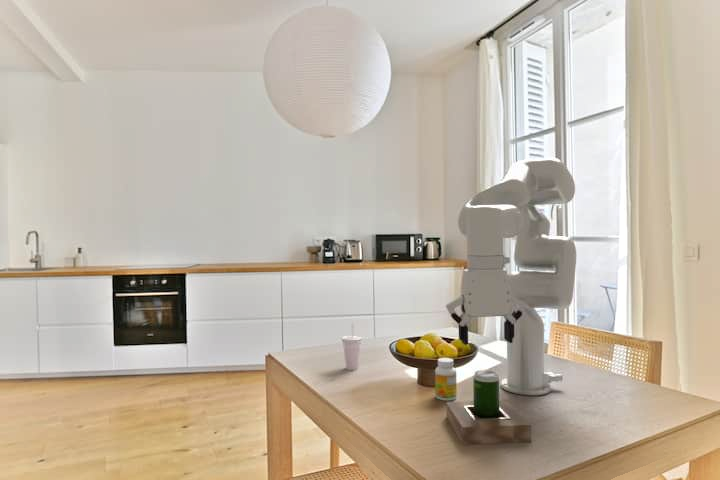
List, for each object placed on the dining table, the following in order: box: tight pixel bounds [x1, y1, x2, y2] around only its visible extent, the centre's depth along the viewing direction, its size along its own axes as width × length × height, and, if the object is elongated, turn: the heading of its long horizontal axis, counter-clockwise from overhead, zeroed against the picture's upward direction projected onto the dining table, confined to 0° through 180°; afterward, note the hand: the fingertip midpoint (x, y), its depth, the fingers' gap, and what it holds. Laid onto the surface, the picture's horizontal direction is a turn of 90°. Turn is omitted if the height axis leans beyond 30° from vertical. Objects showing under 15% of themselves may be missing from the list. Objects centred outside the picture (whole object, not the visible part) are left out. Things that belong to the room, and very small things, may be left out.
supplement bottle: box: [434, 357, 458, 402], centre depth 122 cm, size 5×5×10 cm
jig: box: [445, 399, 532, 446], centre depth 103 cm, size 14×14×4 cm
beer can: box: [472, 369, 500, 418], centre depth 103 cm, size 5×5×12 cm
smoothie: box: [341, 323, 363, 371], centre depth 149 cm, size 6×6×14 cm
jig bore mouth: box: [463, 406, 510, 421], centre depth 103 cm, size 8×8×1 cm
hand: (486, 342), depth 103 cm, fingers open, 9 cm apart
